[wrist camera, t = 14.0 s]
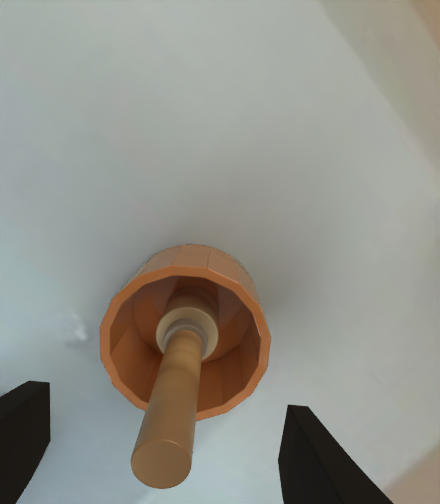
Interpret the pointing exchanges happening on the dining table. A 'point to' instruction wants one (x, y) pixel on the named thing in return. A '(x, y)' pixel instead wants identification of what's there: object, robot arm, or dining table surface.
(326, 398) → the dining table surface
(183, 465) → the turned wooden handle
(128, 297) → the copper cup
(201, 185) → the dining table surface
